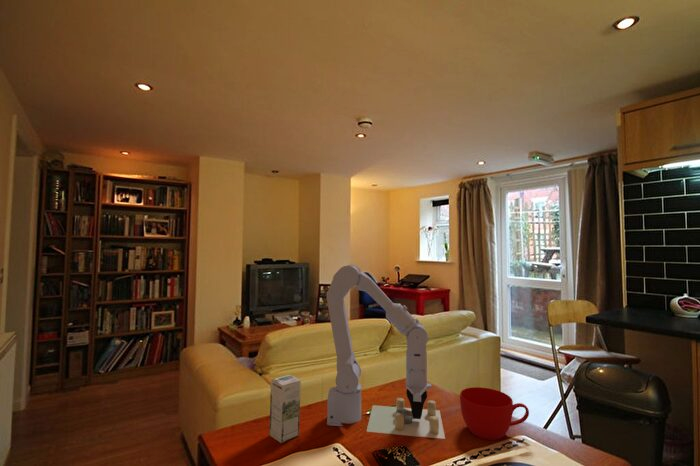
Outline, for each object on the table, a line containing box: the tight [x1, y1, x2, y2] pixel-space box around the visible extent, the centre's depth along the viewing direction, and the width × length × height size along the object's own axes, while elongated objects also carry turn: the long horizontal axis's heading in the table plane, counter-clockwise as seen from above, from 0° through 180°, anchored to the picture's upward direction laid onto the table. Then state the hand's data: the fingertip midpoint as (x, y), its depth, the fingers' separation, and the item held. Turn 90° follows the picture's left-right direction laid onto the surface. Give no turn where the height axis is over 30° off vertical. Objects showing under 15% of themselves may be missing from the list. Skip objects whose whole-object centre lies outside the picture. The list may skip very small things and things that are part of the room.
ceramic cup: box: [459, 386, 530, 441], centre depth 90 cm, size 13×17×10 cm
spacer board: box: [366, 397, 446, 440], centre depth 96 cm, size 20×16×4 cm
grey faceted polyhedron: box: [396, 409, 412, 425], centre depth 96 cm, size 5×4×2 cm
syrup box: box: [268, 374, 302, 444], centre depth 90 cm, size 6×6×14 cm
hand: (416, 417), depth 96 cm, fingers closed, pressing on grey faceted polyhedron
